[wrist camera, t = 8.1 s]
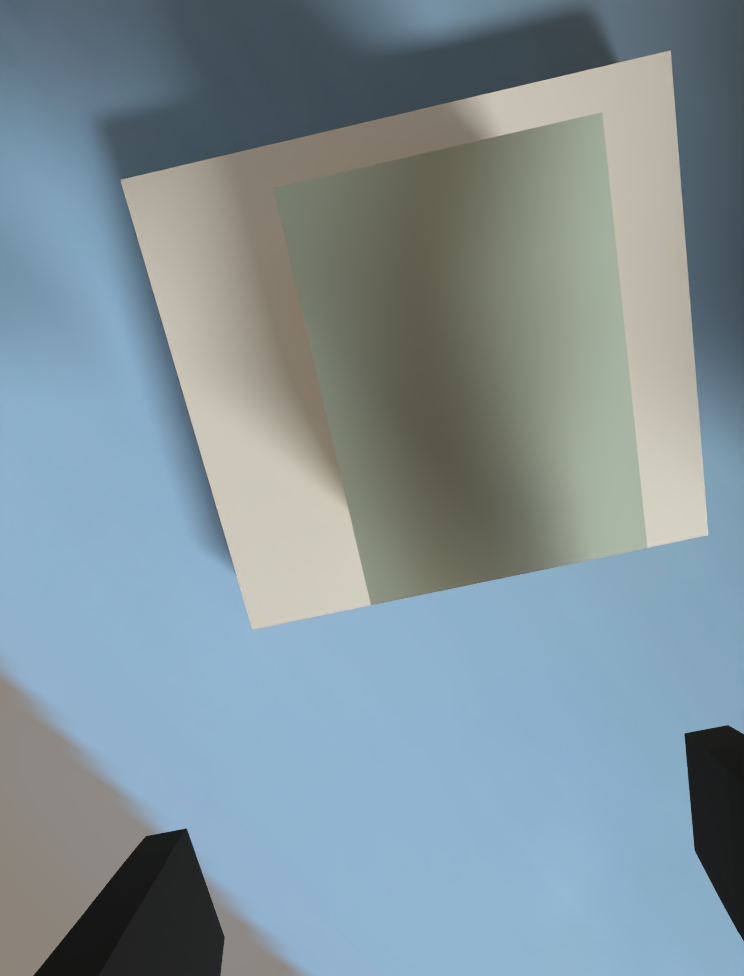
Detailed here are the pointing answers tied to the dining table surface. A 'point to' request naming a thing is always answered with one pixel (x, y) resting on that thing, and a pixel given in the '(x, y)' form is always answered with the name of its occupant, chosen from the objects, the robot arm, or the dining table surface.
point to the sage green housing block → (472, 357)
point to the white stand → (285, 344)
